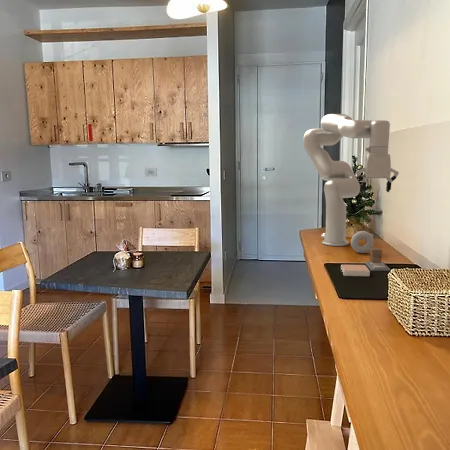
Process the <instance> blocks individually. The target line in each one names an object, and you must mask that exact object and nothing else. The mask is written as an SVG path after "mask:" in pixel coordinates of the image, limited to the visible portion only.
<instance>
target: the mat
mask: <svg viewBox="0 0 450 450" xmlns="http://www.w3.org/2000/svg"><path fill="white" fill-rule="evenodd" d="M381 262H382V263H383V264H384V265H385V266H386V269H374V268H373V267H372V266H371V264H370V261H364V265H366V267H367V268H368V270H369V271H370V272H391V271H390V270H392V269H390V267H389V266H388V265H387V264H386V263H385V262H383V261H381Z"/></svg>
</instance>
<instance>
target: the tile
mask: <svg viewBox="0 0 450 450" xmlns="http://www.w3.org/2000/svg"><path fill="white" fill-rule="evenodd" d="M341 270H342V271H341ZM340 271H341V273H342V272H343V273H342V274H343V277H370V274H371V270H370V269H369V268H368V266H367V265H366V264H341V265H340Z"/></svg>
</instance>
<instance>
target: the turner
mask: <svg viewBox="0 0 450 450" xmlns="http://www.w3.org/2000/svg"><path fill="white" fill-rule="evenodd" d="M369 254H370V256H369V262H370V264H371V266H372V267H373V268H374V269H386V266H385V265H384V264H383V263H382V262H383V261H382V255H383V250H382V249H381V248H380V247H373V248H370V251H369Z"/></svg>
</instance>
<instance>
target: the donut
mask: <svg viewBox="0 0 450 450" xmlns="http://www.w3.org/2000/svg"><path fill="white" fill-rule="evenodd" d="M362 239H364V240H365V242H366V243H365V244H364V245H361V244H360V243H359V241H360V240H362ZM350 246H351V248H352V249H353V250H354V251H355V253H358V254H366V253H370V248H374V246H375V239H374V236H373V235H372V234H371V233H370V232H368V231H366V230H359V231H357V232H355V233H354V234H353V235H352V237H351V239H350Z"/></svg>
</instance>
